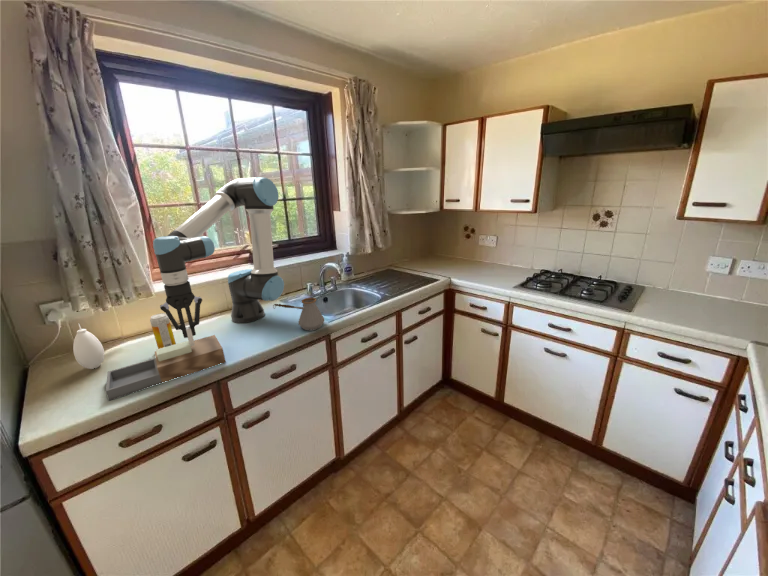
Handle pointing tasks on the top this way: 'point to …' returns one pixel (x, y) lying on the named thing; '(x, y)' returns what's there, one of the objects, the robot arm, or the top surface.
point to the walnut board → (192, 359)
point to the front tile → (165, 353)
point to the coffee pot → (308, 314)
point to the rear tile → (182, 348)
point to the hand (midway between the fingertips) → (192, 344)
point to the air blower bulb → (87, 349)
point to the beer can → (162, 330)
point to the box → (132, 378)
